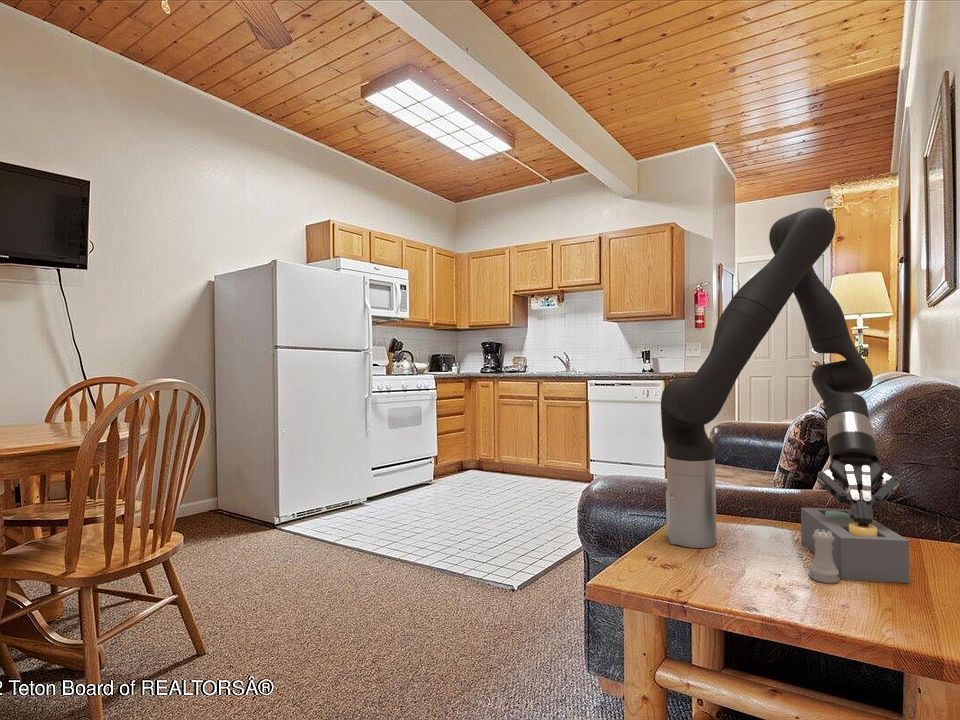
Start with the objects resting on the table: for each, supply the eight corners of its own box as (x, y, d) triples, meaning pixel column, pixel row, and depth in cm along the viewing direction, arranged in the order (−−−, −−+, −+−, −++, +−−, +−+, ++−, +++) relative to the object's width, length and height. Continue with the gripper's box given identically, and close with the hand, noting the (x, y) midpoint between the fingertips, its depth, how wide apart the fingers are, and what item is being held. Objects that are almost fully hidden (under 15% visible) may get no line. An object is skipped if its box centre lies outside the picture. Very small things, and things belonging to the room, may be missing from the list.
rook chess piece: (846, 584, 89) (845, 535, 89) (819, 584, 89) (818, 536, 89) (828, 573, 94) (827, 527, 94) (802, 573, 94) (802, 527, 93)
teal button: (830, 534, 102) (830, 516, 102) (821, 528, 106) (821, 510, 106) (854, 535, 101) (854, 517, 101) (844, 529, 105) (844, 511, 105)
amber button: (855, 550, 92) (855, 529, 92) (844, 541, 96) (844, 522, 96) (882, 551, 91) (881, 530, 91) (870, 543, 95) (870, 523, 95)
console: (841, 579, 91) (840, 538, 91) (801, 542, 108) (800, 507, 108) (909, 583, 89) (908, 540, 89) (857, 544, 106) (856, 509, 106)
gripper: (811, 428, 105) (820, 508, 94) (896, 430, 99) (915, 516, 88) (810, 451, 109) (817, 529, 99) (891, 454, 103) (908, 539, 93)
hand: (864, 523), depth 93 cm, fingers closed
